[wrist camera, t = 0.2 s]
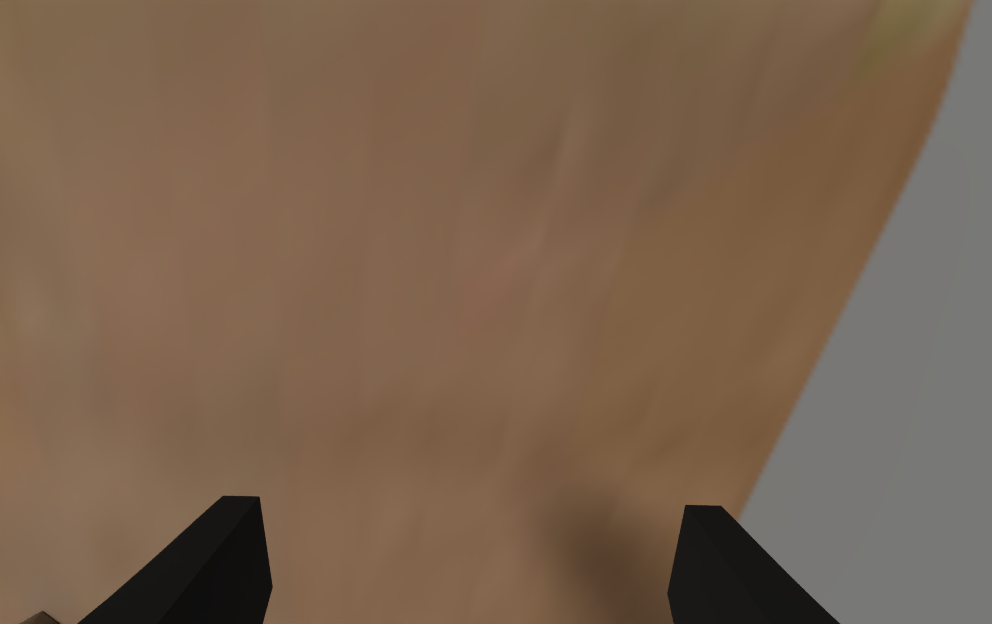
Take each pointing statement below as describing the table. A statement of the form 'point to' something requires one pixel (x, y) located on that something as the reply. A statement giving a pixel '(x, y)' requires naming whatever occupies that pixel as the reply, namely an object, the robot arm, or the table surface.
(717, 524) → the robot arm
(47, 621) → the tub
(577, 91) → the table surface
